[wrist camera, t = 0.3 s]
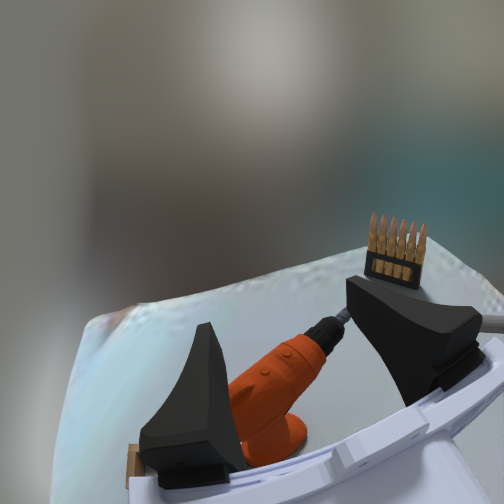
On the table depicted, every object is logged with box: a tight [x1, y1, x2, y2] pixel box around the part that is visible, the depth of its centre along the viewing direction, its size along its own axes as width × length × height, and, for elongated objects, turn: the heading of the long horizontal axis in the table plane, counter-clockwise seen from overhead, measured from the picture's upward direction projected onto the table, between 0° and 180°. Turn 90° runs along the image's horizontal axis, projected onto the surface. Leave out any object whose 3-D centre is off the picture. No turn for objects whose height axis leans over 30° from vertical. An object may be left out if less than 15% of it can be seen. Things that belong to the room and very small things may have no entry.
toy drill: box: [228, 306, 351, 468], centre depth 23 cm, size 5×19×15 cm, turn 128°
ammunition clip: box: [364, 212, 427, 290], centre depth 42 cm, size 11×2×12 cm, turn 49°
